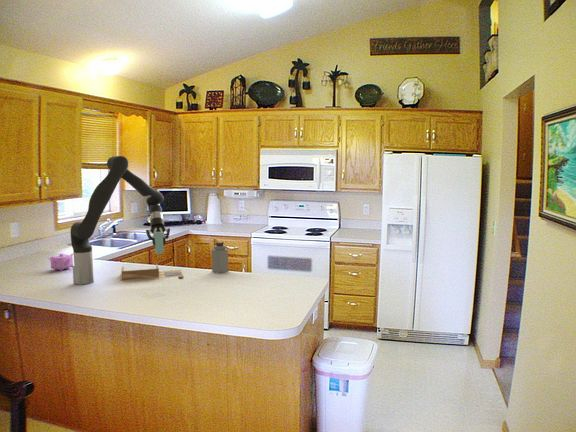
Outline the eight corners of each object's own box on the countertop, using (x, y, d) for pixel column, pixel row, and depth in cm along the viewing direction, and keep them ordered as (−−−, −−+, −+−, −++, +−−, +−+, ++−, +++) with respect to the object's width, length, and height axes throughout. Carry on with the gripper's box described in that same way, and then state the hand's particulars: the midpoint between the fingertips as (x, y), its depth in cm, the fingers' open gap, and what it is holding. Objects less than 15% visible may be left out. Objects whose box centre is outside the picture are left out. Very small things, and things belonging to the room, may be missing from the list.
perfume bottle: (220, 273, 264) (219, 243, 262) (212, 271, 268) (211, 242, 266) (228, 271, 270) (227, 241, 268) (220, 269, 274) (219, 240, 272)
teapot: (56, 273, 264) (55, 257, 263) (42, 271, 270) (41, 255, 269) (82, 267, 280) (82, 252, 279) (68, 265, 286) (68, 250, 285)
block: (155, 252, 257) (154, 231, 256) (163, 251, 259) (162, 231, 257) (155, 254, 253) (154, 233, 251) (163, 253, 254) (162, 232, 253)
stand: (120, 276, 257) (119, 265, 256) (180, 271, 268) (180, 261, 267) (119, 283, 242) (118, 272, 241) (183, 278, 253) (183, 267, 252)
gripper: (144, 217, 258) (146, 241, 248) (169, 216, 262) (172, 239, 253) (144, 225, 263) (146, 249, 254) (169, 223, 268) (172, 247, 258)
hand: (159, 244), depth 253 cm, fingers closed on block, 4 cm apart
